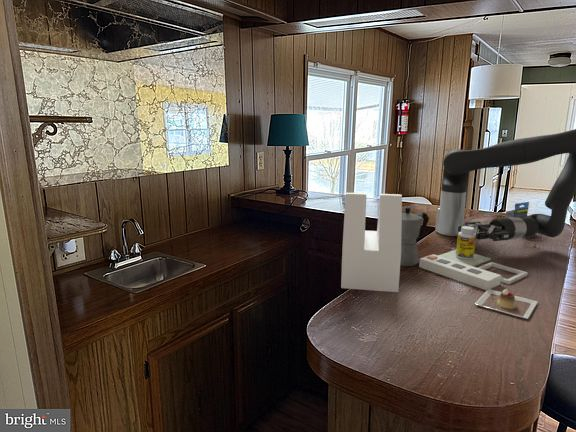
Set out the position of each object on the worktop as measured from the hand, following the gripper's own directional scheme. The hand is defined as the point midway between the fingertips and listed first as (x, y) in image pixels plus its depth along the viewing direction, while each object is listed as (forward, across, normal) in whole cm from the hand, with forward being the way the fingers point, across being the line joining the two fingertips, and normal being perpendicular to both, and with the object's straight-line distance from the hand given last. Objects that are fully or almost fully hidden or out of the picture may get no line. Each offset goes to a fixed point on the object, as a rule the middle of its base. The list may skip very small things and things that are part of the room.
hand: (467, 232), depth 136 cm
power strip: (+11, +11, +9) cm, 18 cm away
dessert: (+13, +32, +10) cm, 36 cm away
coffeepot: (+20, -3, +9) cm, 22 cm away
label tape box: (-42, -22, +9) cm, 48 cm away
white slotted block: (+38, +5, +9) cm, 39 cm away
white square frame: (-1, +15, +9) cm, 17 cm away
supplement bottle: (0, 0, +9) cm, 9 cm away
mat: (0, 0, +9) cm, 9 cm away
